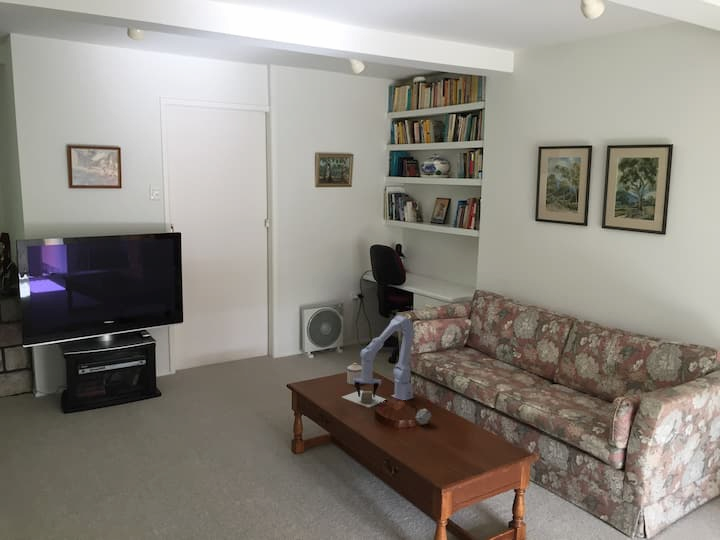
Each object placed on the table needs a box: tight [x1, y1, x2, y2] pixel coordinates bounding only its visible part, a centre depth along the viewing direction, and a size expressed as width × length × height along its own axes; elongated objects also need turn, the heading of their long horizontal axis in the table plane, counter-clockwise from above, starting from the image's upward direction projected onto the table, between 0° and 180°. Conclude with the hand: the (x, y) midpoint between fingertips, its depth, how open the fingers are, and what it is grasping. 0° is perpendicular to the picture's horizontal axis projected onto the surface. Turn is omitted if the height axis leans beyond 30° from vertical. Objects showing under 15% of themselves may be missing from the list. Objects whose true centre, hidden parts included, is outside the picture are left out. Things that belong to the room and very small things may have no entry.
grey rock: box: [412, 406, 434, 427], centre depth 296 cm, size 9×8×10 cm
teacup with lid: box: [346, 362, 362, 386], centre depth 353 cm, size 12×9×12 cm
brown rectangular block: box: [361, 390, 373, 404], centre depth 324 cm, size 8×5×4 cm, turn 174°
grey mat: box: [341, 389, 386, 408], centre depth 328 cm, size 20×15×1 cm
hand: (366, 396), depth 324 cm, fingers open, 7 cm apart
